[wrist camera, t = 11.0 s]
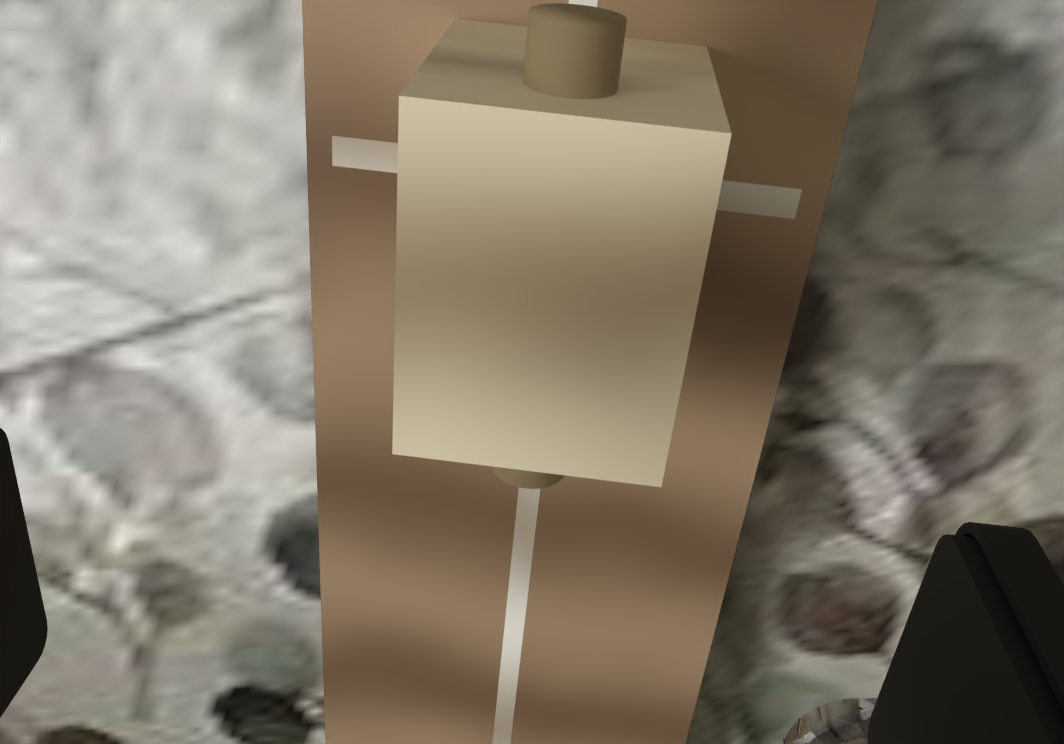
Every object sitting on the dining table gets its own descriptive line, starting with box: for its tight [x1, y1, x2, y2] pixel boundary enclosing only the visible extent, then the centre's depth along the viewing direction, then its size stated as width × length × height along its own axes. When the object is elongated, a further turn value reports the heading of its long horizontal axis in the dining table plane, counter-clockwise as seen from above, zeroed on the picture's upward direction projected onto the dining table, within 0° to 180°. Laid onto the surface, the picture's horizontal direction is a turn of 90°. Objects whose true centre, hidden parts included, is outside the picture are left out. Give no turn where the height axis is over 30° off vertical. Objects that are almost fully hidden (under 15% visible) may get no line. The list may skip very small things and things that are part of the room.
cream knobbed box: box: [392, 3, 732, 489], centre depth 17 cm, size 8×4×5 cm, turn 175°
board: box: [302, 0, 878, 744], centre depth 24 cm, size 28×10×2 cm, turn 175°
